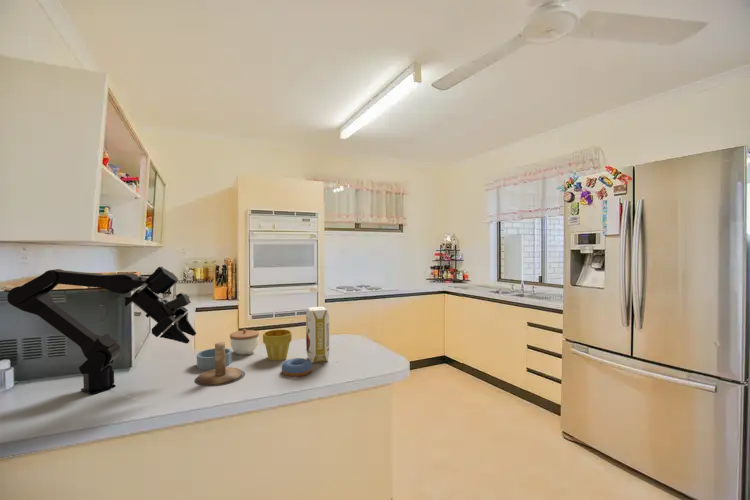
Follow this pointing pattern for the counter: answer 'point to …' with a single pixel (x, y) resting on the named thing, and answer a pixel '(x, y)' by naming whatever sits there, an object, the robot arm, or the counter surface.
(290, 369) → the doughnut
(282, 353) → the plant pot
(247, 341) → the lidded jar
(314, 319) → the juice carton
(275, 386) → the counter surface
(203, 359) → the ceramic bowl
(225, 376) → the walnut lid
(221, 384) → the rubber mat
